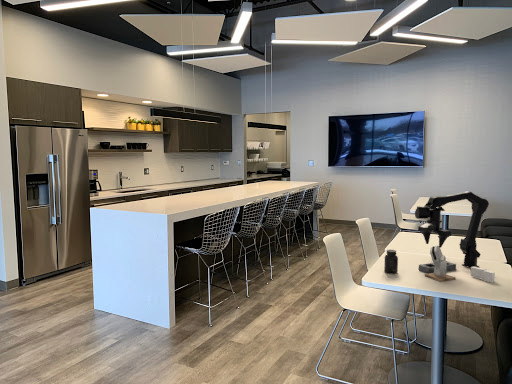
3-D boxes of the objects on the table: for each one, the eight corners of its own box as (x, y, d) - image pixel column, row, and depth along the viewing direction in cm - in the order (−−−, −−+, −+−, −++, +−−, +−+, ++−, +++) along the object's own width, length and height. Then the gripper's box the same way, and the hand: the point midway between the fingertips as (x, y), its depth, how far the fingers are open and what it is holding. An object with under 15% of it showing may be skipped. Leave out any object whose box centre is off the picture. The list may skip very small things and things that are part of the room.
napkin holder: (464, 275, 203) (465, 264, 202) (488, 276, 201) (488, 265, 200) (476, 284, 188) (476, 273, 187) (501, 285, 186) (501, 274, 185)
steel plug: (439, 274, 199) (440, 259, 199) (446, 276, 196) (446, 261, 195) (433, 275, 198) (434, 260, 197) (440, 277, 194) (440, 262, 193)
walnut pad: (439, 273, 203) (439, 272, 203) (455, 279, 194) (455, 277, 194) (425, 276, 200) (425, 274, 200) (440, 281, 190) (440, 279, 190)
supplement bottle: (382, 270, 209) (382, 249, 208) (394, 270, 210) (394, 248, 209) (387, 274, 203) (388, 252, 202) (399, 274, 203) (400, 252, 202)
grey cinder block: (445, 266, 218) (445, 261, 217) (456, 269, 211) (456, 264, 211) (418, 270, 210) (418, 264, 210) (428, 273, 204) (428, 268, 203)
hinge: (442, 265, 220) (437, 248, 221) (434, 266, 222) (428, 250, 223) (446, 258, 234) (440, 242, 235) (437, 260, 236) (432, 244, 237)
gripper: (411, 217, 220) (410, 243, 222) (437, 222, 203) (436, 250, 205) (426, 215, 225) (424, 241, 226) (452, 220, 207) (451, 248, 209)
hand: (433, 245), depth 216 cm, fingers open, 9 cm apart
